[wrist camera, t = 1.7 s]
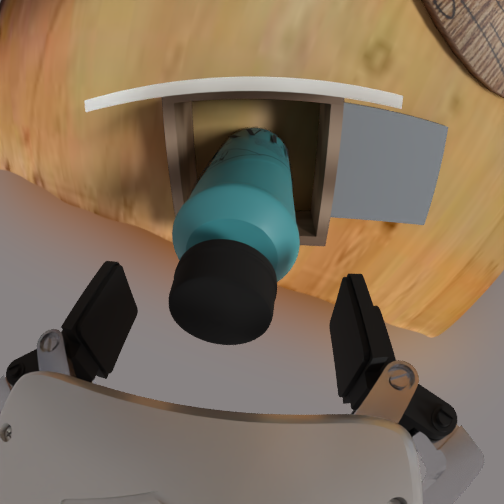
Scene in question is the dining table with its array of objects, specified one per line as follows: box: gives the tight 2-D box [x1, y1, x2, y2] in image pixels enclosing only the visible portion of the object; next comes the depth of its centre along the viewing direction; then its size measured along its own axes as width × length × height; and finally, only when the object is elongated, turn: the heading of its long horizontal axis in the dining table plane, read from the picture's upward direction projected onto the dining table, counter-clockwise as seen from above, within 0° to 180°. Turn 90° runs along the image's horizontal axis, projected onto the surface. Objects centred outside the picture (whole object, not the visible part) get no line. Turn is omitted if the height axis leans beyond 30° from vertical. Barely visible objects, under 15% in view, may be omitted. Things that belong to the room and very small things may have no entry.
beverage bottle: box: [169, 127, 300, 345], centre depth 17 cm, size 6×7×20 cm
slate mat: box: [330, 102, 448, 225], centre depth 24 cm, size 12×12×1 cm
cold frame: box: [85, 77, 403, 246], centre depth 19 cm, size 15×14×15 cm
